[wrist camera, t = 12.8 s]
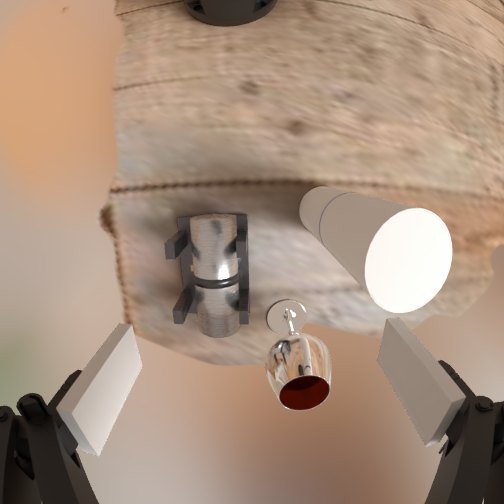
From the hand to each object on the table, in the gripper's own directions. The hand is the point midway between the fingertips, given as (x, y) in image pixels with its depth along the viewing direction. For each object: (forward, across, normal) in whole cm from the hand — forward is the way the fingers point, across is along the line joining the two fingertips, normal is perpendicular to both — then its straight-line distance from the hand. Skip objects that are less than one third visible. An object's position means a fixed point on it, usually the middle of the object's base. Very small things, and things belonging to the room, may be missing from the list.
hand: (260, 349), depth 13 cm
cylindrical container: (+29, +10, +3) cm, 31 cm away
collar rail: (+29, -6, -5) cm, 30 cm away
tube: (+27, -6, -5) cm, 29 cm away
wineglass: (+29, +5, -14) cm, 32 cm away
